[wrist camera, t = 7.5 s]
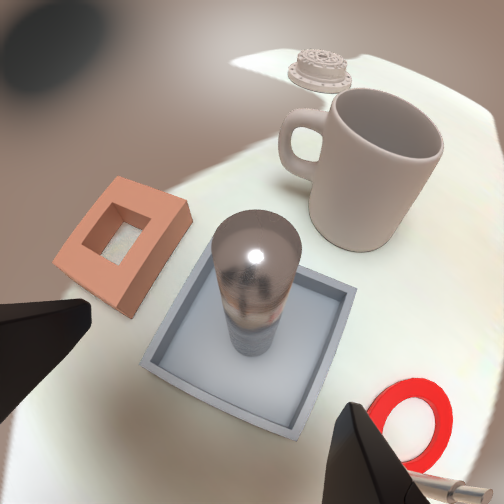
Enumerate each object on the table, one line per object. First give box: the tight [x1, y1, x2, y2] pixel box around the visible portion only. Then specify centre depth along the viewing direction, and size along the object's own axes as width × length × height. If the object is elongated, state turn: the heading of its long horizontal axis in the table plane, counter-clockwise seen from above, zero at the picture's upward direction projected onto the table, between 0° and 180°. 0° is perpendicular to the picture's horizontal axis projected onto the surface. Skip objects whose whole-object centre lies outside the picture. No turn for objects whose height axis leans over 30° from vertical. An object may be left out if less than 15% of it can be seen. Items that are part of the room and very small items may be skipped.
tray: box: [138, 235, 357, 441], centre depth 20 cm, size 11×11×2 cm
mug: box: [278, 88, 444, 252], centre depth 22 cm, size 12×8×11 cm
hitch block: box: [53, 176, 193, 319], centre depth 23 cm, size 10×8×3 cm
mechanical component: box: [288, 49, 352, 93], centre depth 37 cm, size 10×4×10 cm
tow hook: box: [367, 378, 493, 504], centre depth 11 cm, size 8×13×9 cm
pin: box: [211, 210, 302, 357], centre depth 15 cm, size 3×3×12 cm
